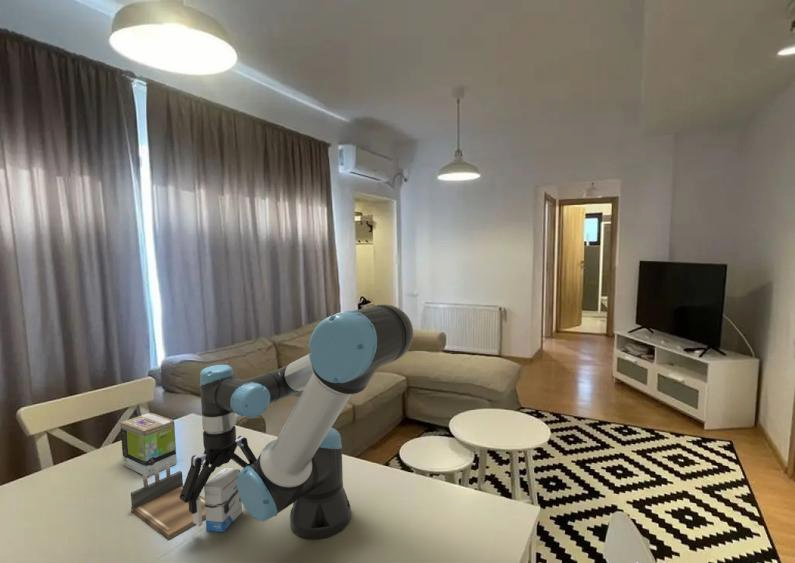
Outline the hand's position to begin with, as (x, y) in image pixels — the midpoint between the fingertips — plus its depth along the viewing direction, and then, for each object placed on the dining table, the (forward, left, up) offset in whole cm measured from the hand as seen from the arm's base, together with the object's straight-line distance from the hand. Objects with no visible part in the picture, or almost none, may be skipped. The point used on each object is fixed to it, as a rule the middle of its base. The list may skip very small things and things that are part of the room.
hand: (223, 509), depth 106 cm
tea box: (+47, -3, -3) cm, 47 cm away
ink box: (0, 0, -3) cm, 3 cm away
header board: (+15, +5, -3) cm, 16 cm away
